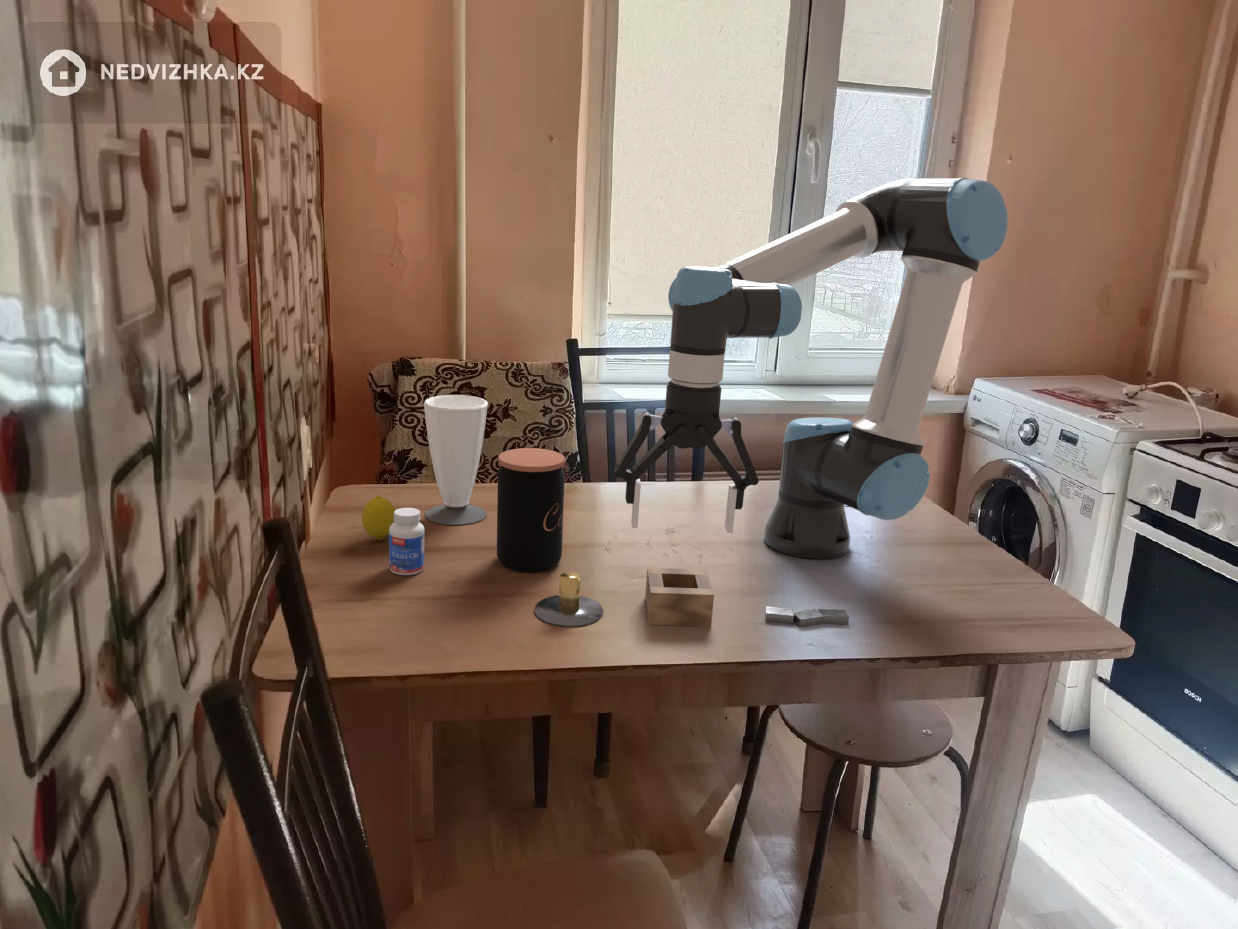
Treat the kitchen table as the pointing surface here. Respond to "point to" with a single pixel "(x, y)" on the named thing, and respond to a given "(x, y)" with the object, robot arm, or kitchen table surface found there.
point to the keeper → (569, 605)
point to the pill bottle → (406, 542)
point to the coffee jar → (530, 509)
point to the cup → (455, 455)
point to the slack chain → (806, 616)
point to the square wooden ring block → (679, 597)
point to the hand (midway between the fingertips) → (681, 527)
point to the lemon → (378, 517)
